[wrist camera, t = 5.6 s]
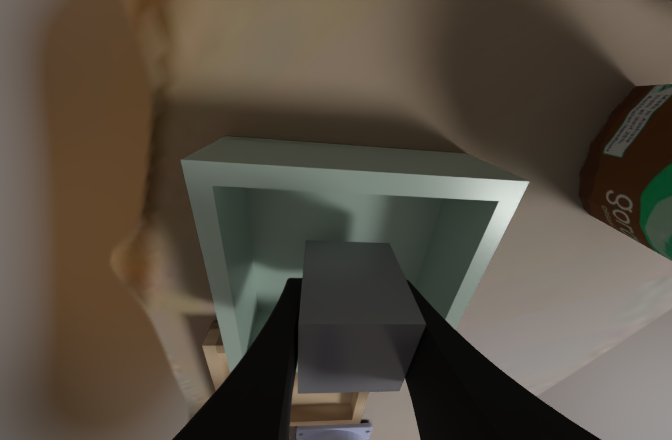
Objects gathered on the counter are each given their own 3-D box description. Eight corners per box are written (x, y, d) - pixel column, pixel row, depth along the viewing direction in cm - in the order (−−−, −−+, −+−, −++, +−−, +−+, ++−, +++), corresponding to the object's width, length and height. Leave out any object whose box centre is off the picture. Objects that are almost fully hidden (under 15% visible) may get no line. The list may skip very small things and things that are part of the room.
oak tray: (357, 400, 23) (359, 423, 22) (233, 404, 22) (227, 428, 21) (376, 321, 18) (382, 344, 16) (213, 321, 17) (202, 345, 15)
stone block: (375, 301, 13) (399, 391, 9) (303, 301, 13) (297, 393, 9) (389, 243, 11) (426, 323, 8) (305, 240, 11) (298, 324, 7)
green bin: (412, 313, 17) (435, 369, 14) (249, 312, 16) (230, 373, 13) (467, 153, 12) (529, 181, 8) (225, 136, 11) (180, 159, 7)
